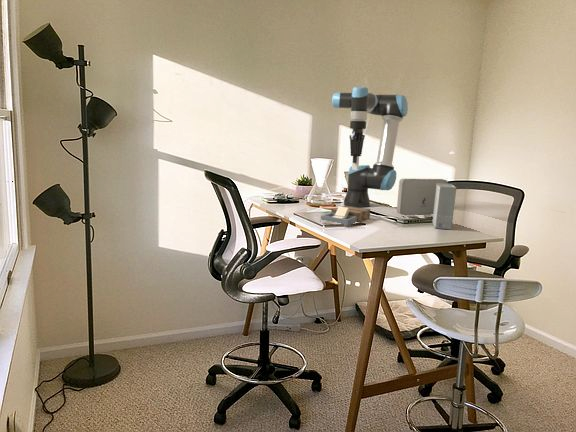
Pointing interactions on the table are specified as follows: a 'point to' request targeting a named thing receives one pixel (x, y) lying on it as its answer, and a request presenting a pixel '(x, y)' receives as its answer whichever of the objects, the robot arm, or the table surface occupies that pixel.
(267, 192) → the table surface
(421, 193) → the network device
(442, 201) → the hard drive box
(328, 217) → the box
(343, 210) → the tile
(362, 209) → the bench plate
